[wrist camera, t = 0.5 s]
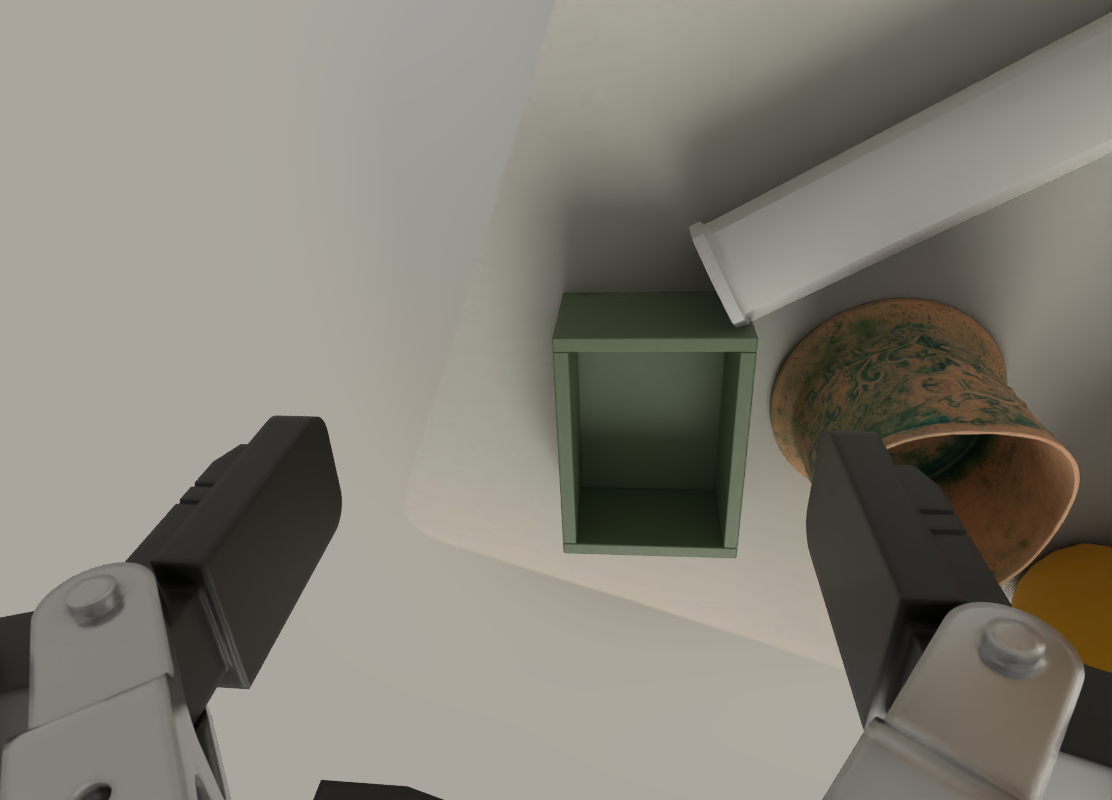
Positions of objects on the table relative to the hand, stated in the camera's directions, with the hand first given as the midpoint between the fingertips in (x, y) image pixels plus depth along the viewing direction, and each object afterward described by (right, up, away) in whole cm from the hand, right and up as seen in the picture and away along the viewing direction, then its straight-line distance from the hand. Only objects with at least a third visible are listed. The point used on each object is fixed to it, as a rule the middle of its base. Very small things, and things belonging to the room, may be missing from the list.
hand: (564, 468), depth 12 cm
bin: (+5, +1, +27) cm, 28 cm away
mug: (+17, -1, +28) cm, 33 cm away
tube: (+18, +13, +20) cm, 30 cm away
